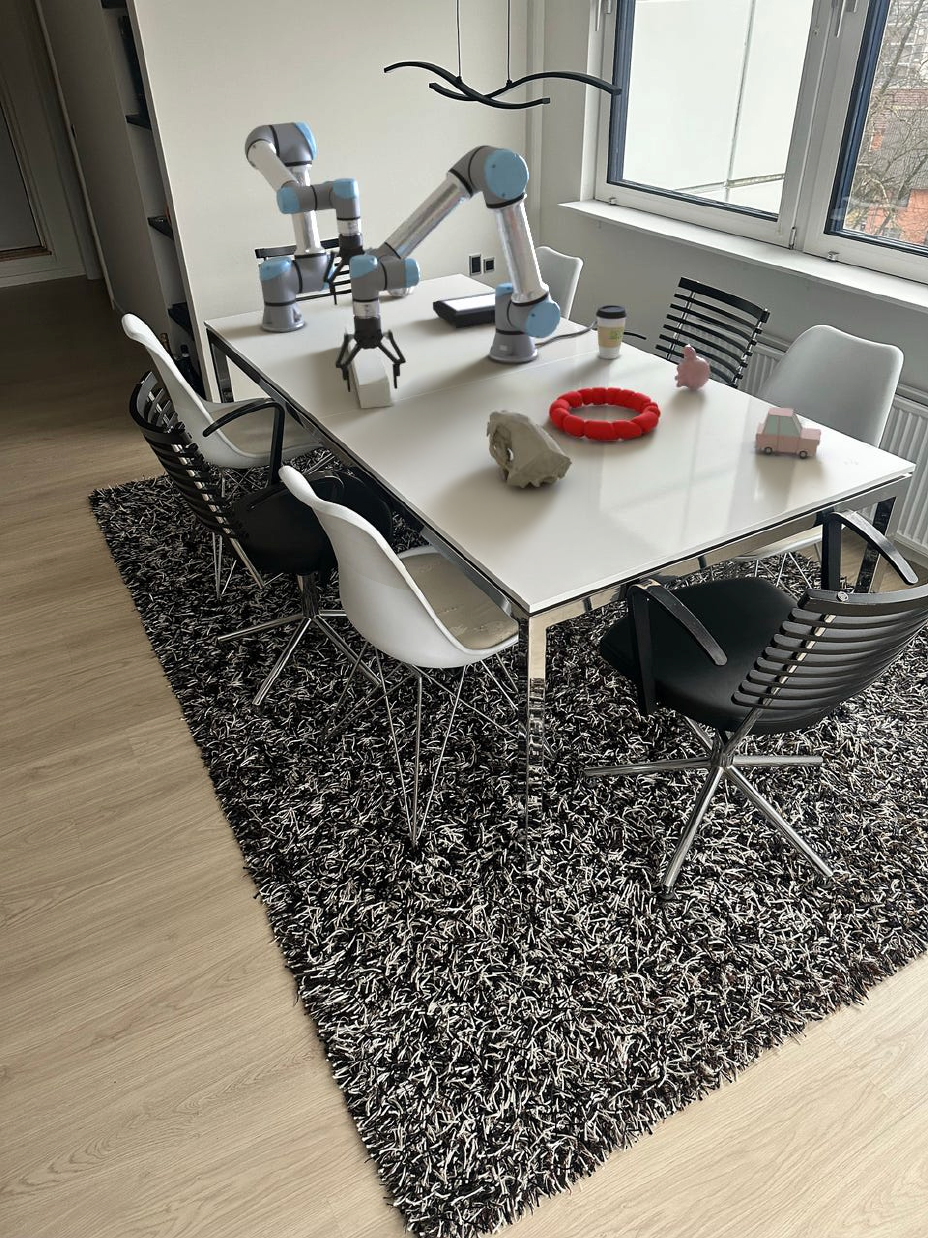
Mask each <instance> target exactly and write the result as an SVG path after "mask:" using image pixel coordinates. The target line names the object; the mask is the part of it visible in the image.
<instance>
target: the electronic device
mask: <svg viewBox="0 0 928 1238" xmlns="http://www.w3.org/2000/svg"><path fill="white" fill-rule="evenodd" d="M494 297H495V291H493V292H485V293H479V294H472V295H465V296H459V297H451V298H445V299H439V300H436V301H433V302H432V310H433V311H434V313H435V314H436V316H437V317H438V318H439V319H441V320H442V321H444V322H446V323H447V324H449V325H451V326H452V327H454V328H455V329H456V330H459V329H467V328H473V327H479V326H484V325H485V326H486V325H491V324H495V298H494Z"/></svg>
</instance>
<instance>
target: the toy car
mask: <svg viewBox="0 0 928 1238" xmlns="http://www.w3.org/2000/svg"><path fill="white" fill-rule="evenodd" d="M821 435H822V430H821V428H812V427H811V428H810V427H803V426H802V422H801V421H800V419H799V418H798V415H797V413H796V411H795V410H794V408H789V407H788V408H787V407H779V406H778V407H777V406H770V407H769V410H768V412H767V414H766V417H765V420H764V422H759V423H758V424H757V428H756V432H755V441H754V446H753V449H756V450H761V451H763V452H764V453H765V454H766V455H771V454H772V453H773V452H783V453H792V454H796V455H798V456H799V458H800V459H805V458H807V456H816V454H817V450H818V446H820V445H821V444H820V443H821Z"/></svg>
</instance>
